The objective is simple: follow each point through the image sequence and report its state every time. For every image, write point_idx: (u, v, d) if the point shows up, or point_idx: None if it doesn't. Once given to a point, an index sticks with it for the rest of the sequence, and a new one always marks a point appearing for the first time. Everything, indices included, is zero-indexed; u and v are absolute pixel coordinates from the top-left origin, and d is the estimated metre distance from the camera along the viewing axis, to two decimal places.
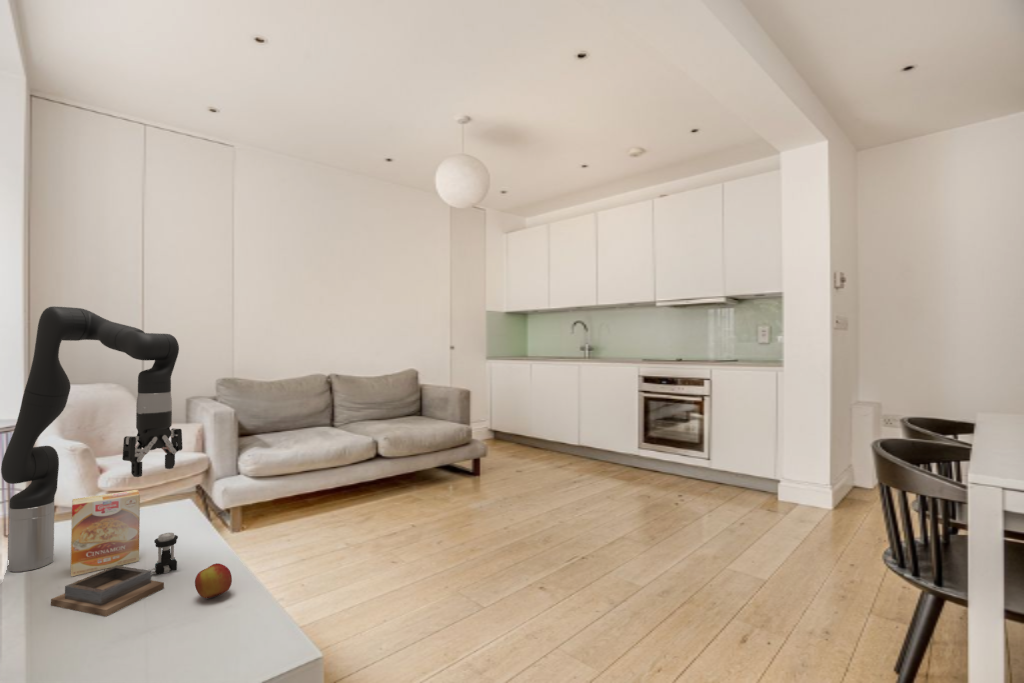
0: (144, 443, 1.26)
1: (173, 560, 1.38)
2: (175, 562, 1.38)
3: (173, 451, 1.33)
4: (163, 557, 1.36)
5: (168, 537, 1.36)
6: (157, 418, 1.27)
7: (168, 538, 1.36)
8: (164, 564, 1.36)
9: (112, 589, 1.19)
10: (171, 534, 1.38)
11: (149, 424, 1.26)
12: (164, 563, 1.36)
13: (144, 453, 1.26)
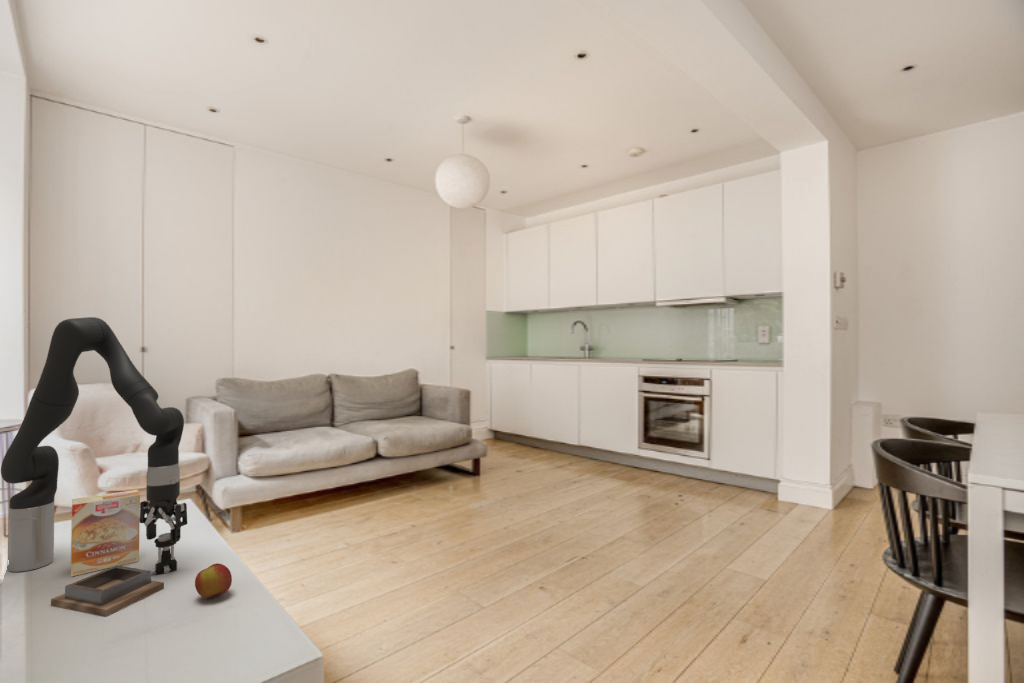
0: (175, 510, 1.37)
1: (173, 560, 1.38)
2: (175, 562, 1.38)
3: None
4: (163, 557, 1.36)
5: (168, 537, 1.36)
6: None
7: (168, 538, 1.36)
8: (164, 564, 1.36)
9: (112, 589, 1.19)
10: None
11: (179, 491, 1.38)
12: (164, 563, 1.36)
13: None
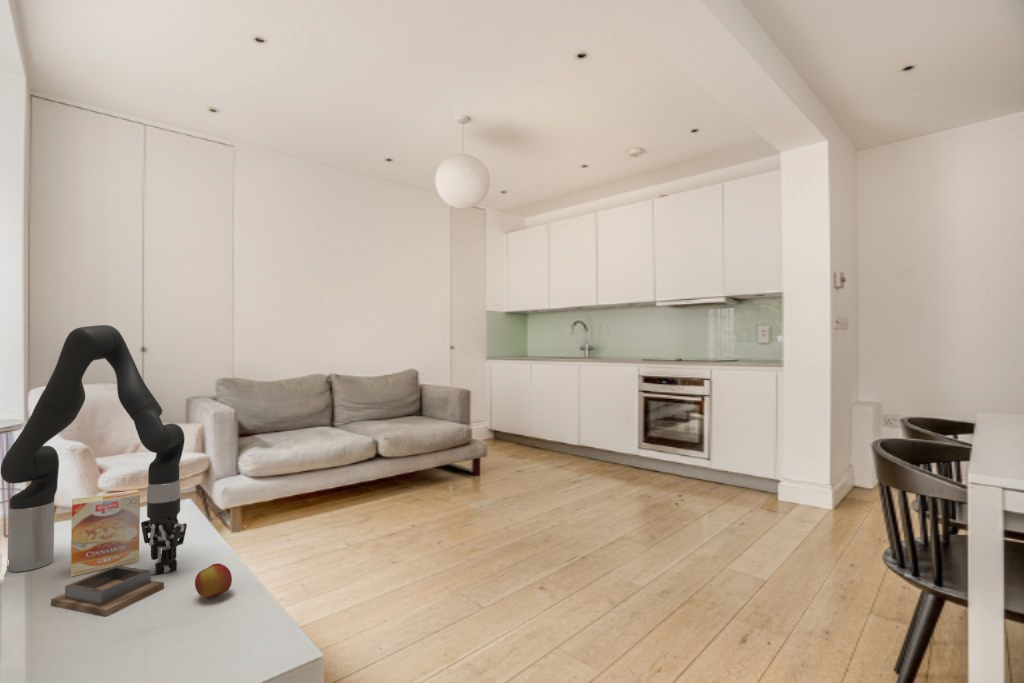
0: None
1: None
2: (175, 562, 1.38)
3: None
4: (163, 556, 1.36)
5: None
6: None
7: None
8: (164, 564, 1.36)
9: (112, 589, 1.19)
10: (170, 534, 1.38)
11: (179, 508, 1.38)
12: (164, 563, 1.36)
13: None
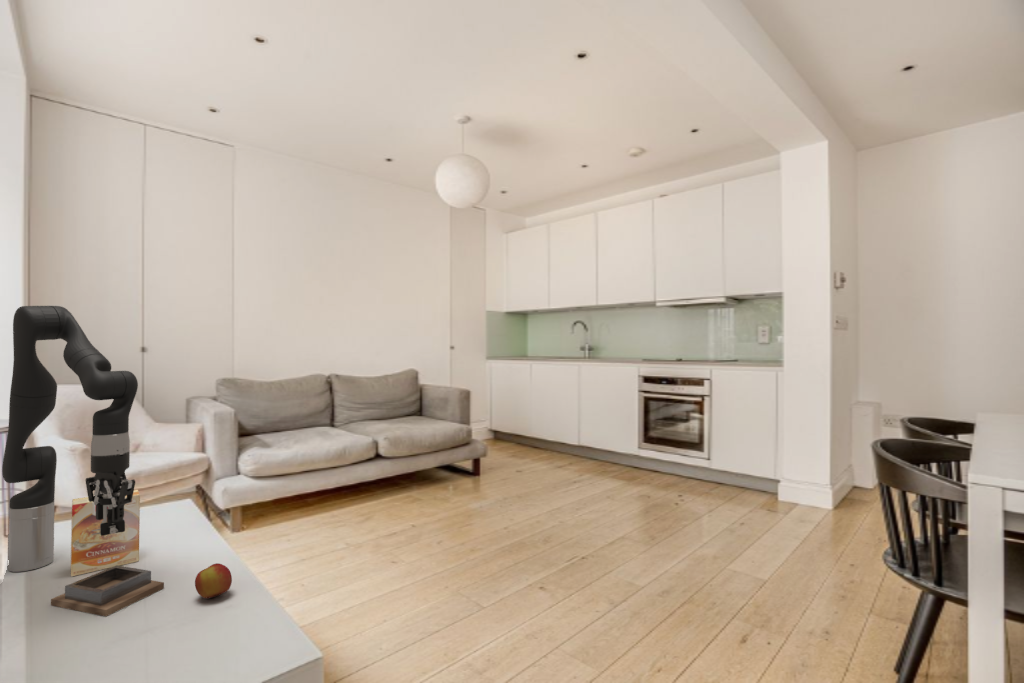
0: None
1: (121, 520, 1.25)
2: (123, 522, 1.25)
3: None
4: (109, 516, 1.23)
5: None
6: None
7: None
8: (110, 524, 1.23)
9: (112, 589, 1.19)
10: None
11: (128, 463, 1.25)
12: (110, 523, 1.23)
13: None
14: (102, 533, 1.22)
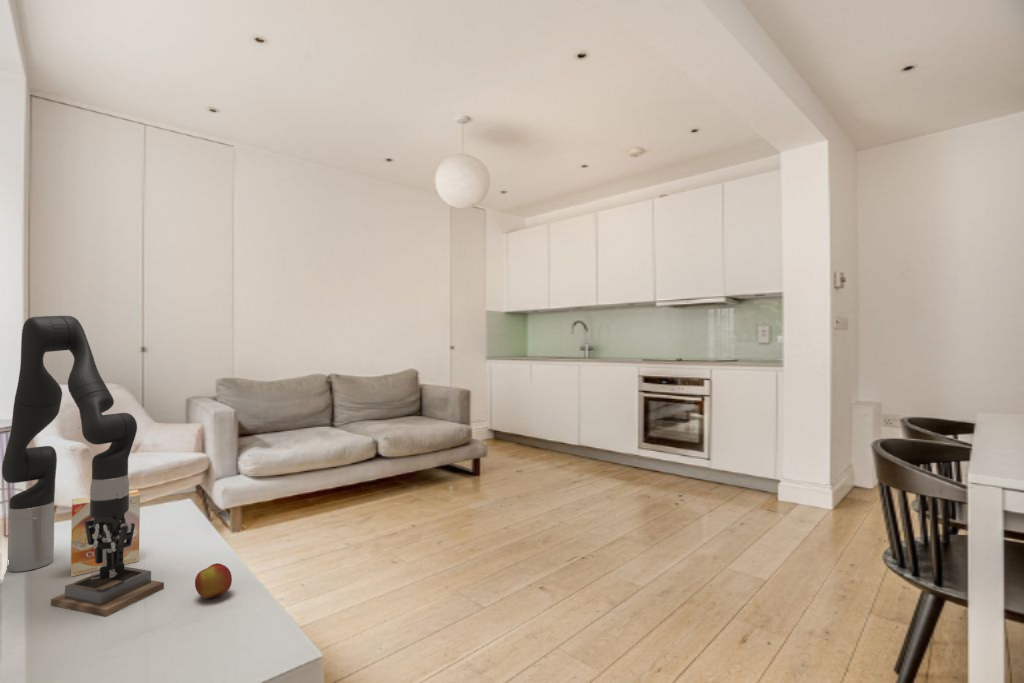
0: None
1: None
2: (122, 565, 1.24)
3: None
4: (108, 559, 1.23)
5: None
6: None
7: None
8: (109, 568, 1.23)
9: (112, 589, 1.19)
10: None
11: (128, 506, 1.25)
12: (109, 567, 1.23)
13: None
14: (101, 577, 1.22)
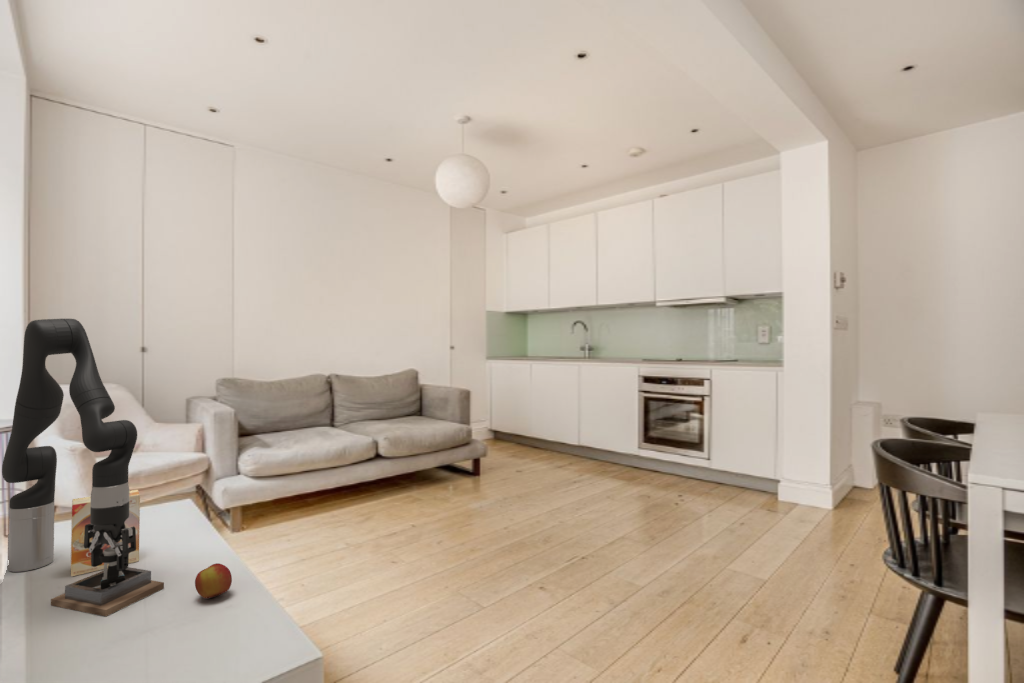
0: None
1: (121, 576, 1.25)
2: (123, 579, 1.25)
3: None
4: (109, 573, 1.23)
5: (115, 551, 1.23)
6: None
7: (115, 552, 1.23)
8: (110, 581, 1.23)
9: (112, 589, 1.19)
10: None
11: (128, 513, 1.25)
12: (110, 580, 1.23)
13: None
14: None
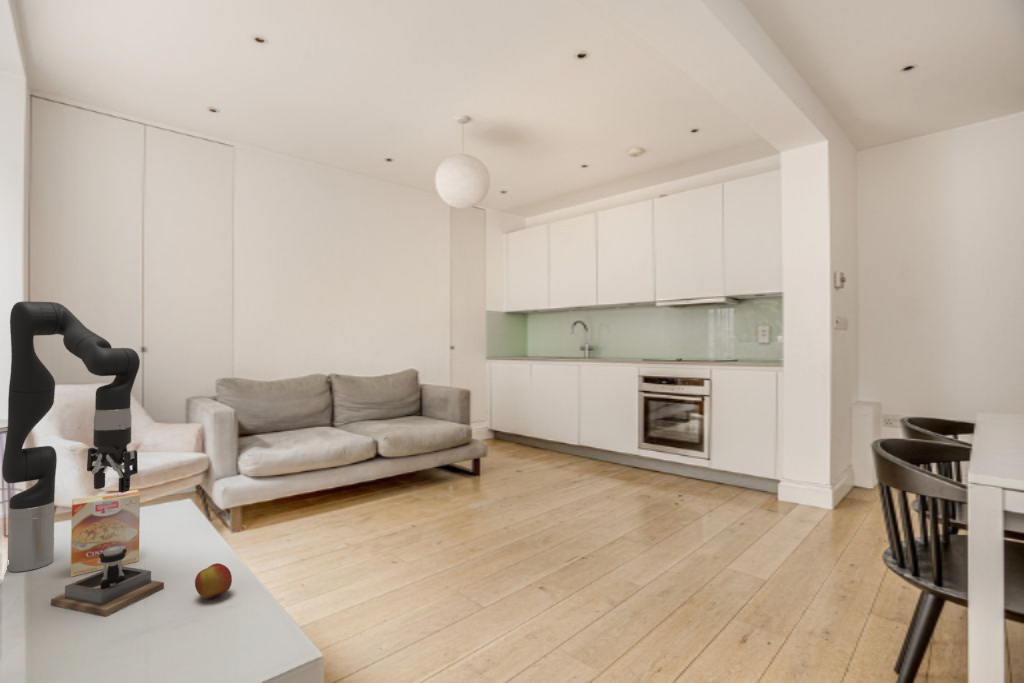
0: None
1: (121, 576, 1.25)
2: (123, 579, 1.25)
3: None
4: (109, 573, 1.23)
5: (115, 551, 1.23)
6: None
7: (115, 552, 1.23)
8: (110, 581, 1.23)
9: (112, 589, 1.19)
10: (119, 548, 1.25)
11: (130, 438, 1.28)
12: (110, 580, 1.23)
13: None
14: None
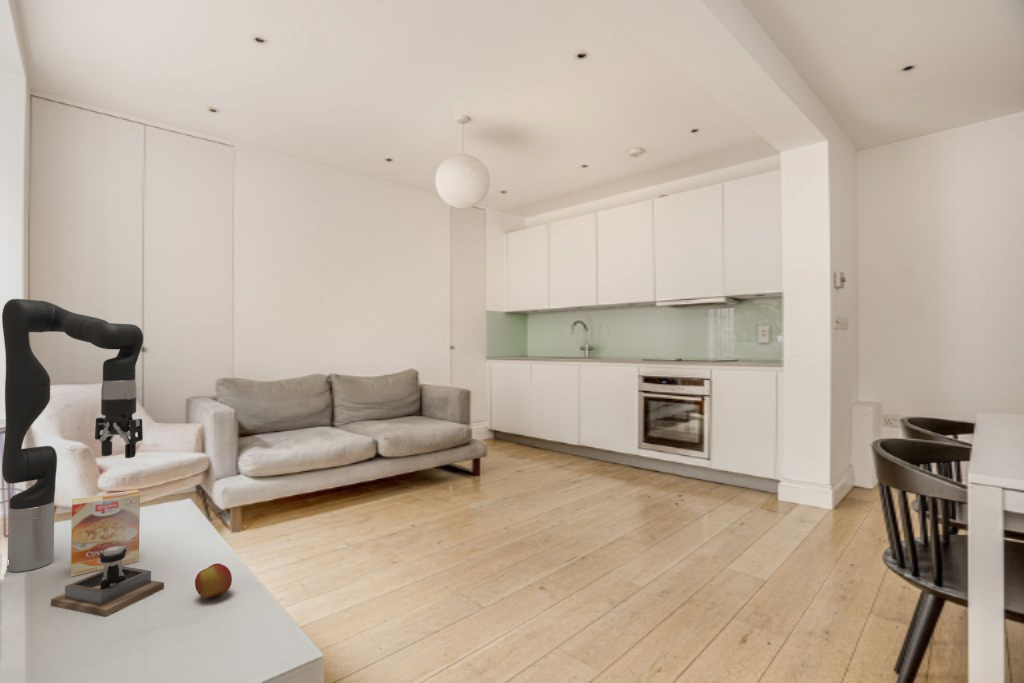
0: None
1: (121, 576, 1.25)
2: (123, 579, 1.25)
3: None
4: (109, 573, 1.23)
5: (115, 551, 1.23)
6: None
7: (115, 552, 1.23)
8: (110, 581, 1.23)
9: (112, 589, 1.19)
10: (119, 548, 1.25)
11: (135, 408, 1.37)
12: (110, 580, 1.23)
13: None
14: None
